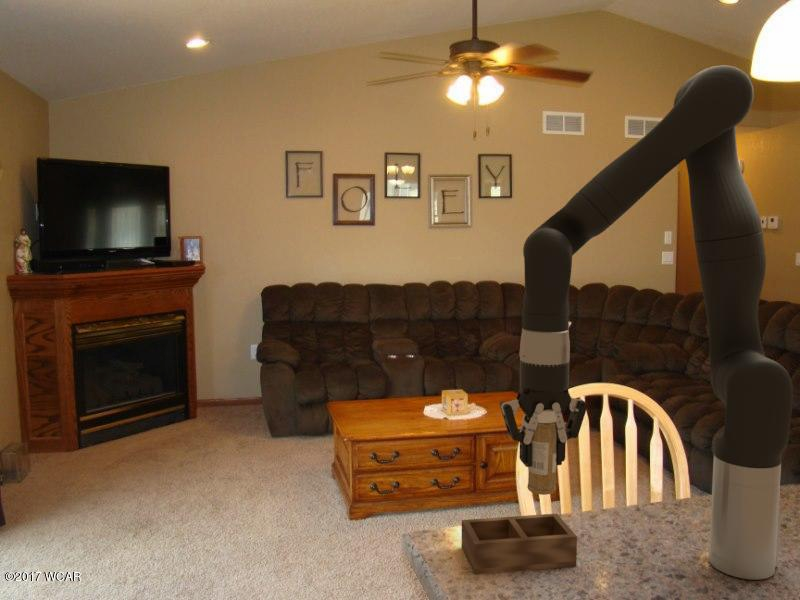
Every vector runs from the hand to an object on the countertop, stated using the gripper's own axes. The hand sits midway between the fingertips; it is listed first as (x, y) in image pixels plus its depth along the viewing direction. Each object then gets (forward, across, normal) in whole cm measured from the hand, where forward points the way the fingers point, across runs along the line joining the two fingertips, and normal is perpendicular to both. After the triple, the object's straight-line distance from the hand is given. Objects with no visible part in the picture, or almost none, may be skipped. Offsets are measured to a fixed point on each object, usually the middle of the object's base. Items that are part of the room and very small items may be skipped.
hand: (542, 463), depth 111 cm
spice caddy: (+15, -4, 0) cm, 16 cm away
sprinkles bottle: (+4, 0, 0) cm, 4 cm away
